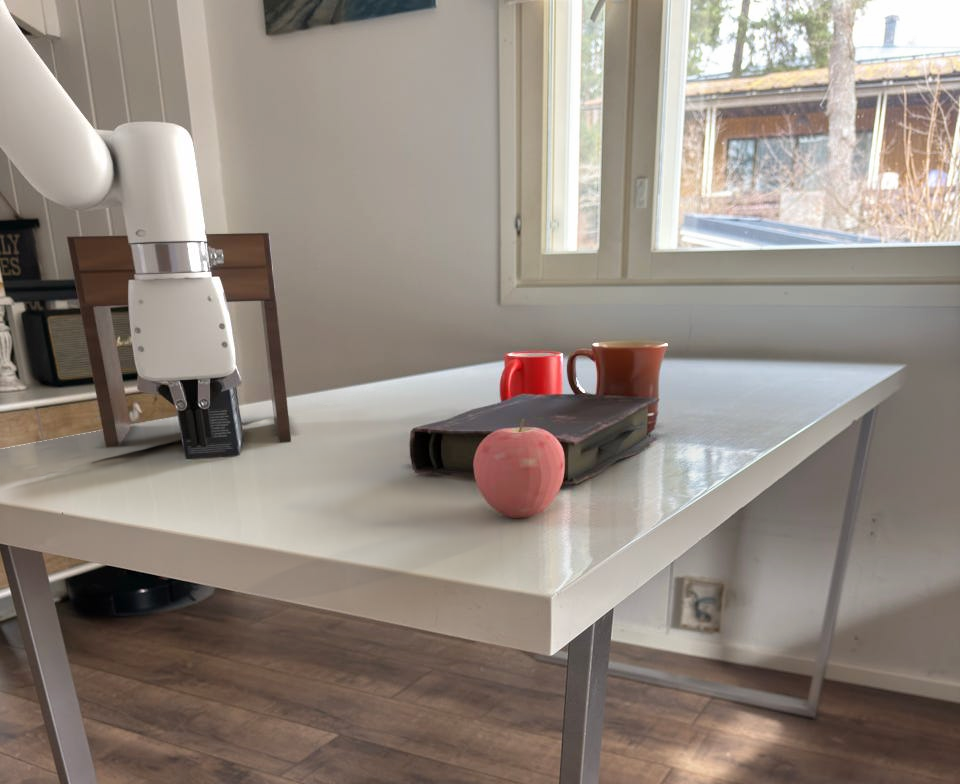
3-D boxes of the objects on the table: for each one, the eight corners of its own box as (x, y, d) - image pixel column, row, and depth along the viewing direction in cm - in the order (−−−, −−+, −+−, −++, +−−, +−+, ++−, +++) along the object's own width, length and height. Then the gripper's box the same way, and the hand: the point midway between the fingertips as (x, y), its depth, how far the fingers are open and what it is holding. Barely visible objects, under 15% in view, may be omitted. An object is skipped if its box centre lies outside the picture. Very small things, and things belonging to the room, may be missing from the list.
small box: (190, 442, 109) (176, 352, 105) (244, 439, 110) (233, 350, 106) (181, 459, 99) (166, 361, 95) (241, 455, 100) (229, 358, 96)
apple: (575, 507, 76) (576, 412, 73) (550, 530, 70) (550, 427, 67) (493, 501, 79) (492, 409, 76) (462, 523, 73) (459, 423, 69)
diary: (408, 475, 89) (405, 424, 87) (516, 432, 110) (516, 390, 108) (581, 492, 81) (582, 436, 79) (663, 443, 101) (666, 397, 99)
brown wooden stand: (291, 441, 108) (269, 232, 99) (107, 454, 103) (66, 236, 94) (285, 423, 120) (264, 236, 111) (120, 433, 116) (85, 239, 107)
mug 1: (479, 420, 118) (477, 358, 115) (522, 407, 128) (521, 350, 125) (531, 424, 115) (531, 361, 112) (571, 410, 124) (572, 351, 121)
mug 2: (671, 428, 109) (676, 341, 105) (650, 441, 102) (654, 348, 98) (579, 423, 115) (581, 339, 111) (553, 435, 107) (554, 346, 103)
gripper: (246, 261, 95) (268, 434, 102) (98, 266, 92) (131, 444, 99) (247, 260, 88) (270, 446, 96) (87, 266, 85) (123, 457, 93)
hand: (199, 444), depth 98 cm, fingers closed
